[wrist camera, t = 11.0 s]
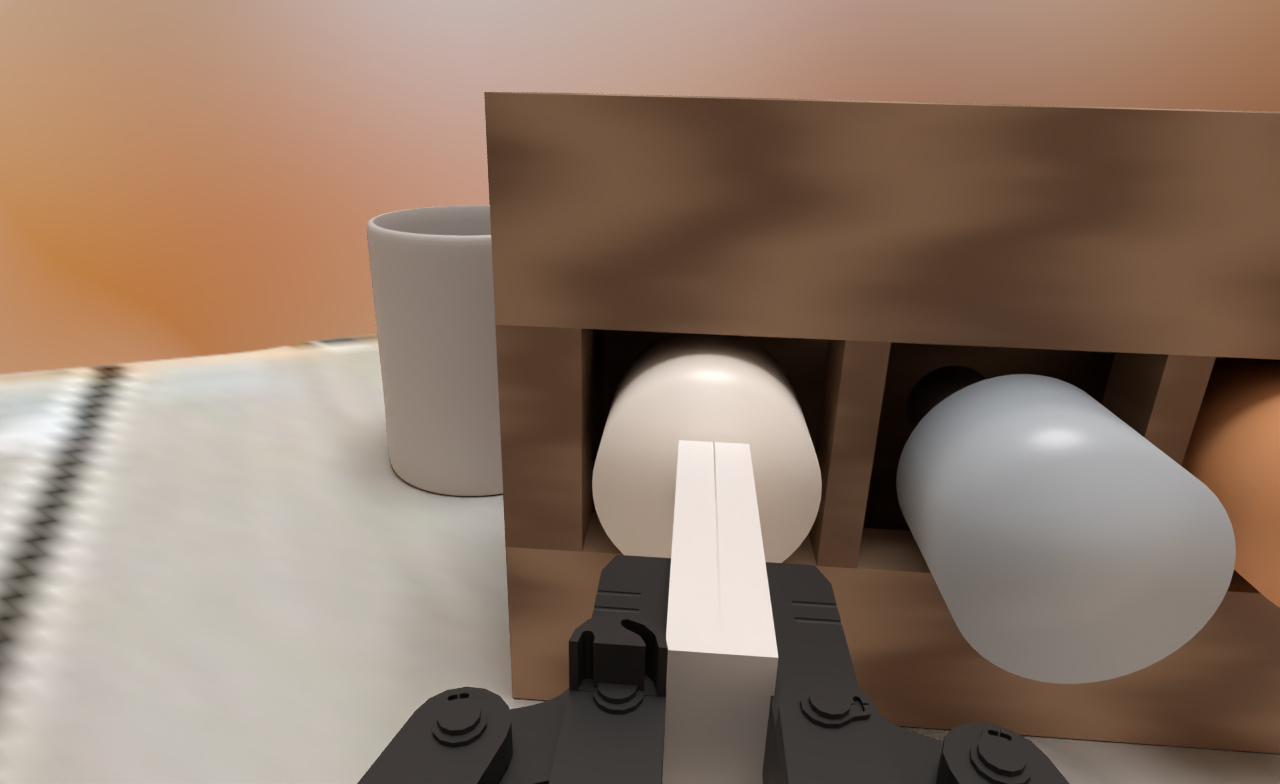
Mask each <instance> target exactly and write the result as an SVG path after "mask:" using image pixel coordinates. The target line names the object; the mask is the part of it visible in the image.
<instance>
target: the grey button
mask: <svg viewBox="0 0 1280 784" xmlns="http://www.w3.org/2000/svg"><path fill="white" fill-rule="evenodd" d="M907 416H908V419H909V422H910V424H911V426H912V427H913V429H914V430H913V432H912V433H911V435H910V437H909V438H908V440H907V442H906V444H905V446H904V449H903V451H902V454H901V456H900V460H899V464H898V468H897V478H896V487H897V496H898V501H899V505H900V508H901V511H902V513H903V516H904V518H905V520H906V522H907V524H908V526H909V528H910V530H911V532H912V534H913V536H914V539H915V541H916V543H917V545H918V547H919V549H920V551H921V553H922V555H923V557H924V559H925V561H926V563H927V565H928V567H929V569H930V572H931V574H932V576H933V578H934V580H935V582H936V584H937V586H938V588H939V590H940V592H941V594H942V596H943V598H944V600H945V602H946V605H947V607H948V609H949V611H950V613H951V615H952V617H953V619H954V621H955V623H956V625H957V627H958V628H959V630H960V632H961V633H962V635H963V637H964V638H965V639H966V640H967V642H968V643H969V644H970V645H971V646H972V648H974V649H975V650H976V651H977V652H978V653H979V654H980V655H981V656H982V657H984V658H985V659H987V660H988V661H990V662H991V663H993V664H994V665H996V666H998V667H1000V668H1002V669H1004V670H1006V671H1008V672H1010V673H1013V674H1015V675H1018V676H1021V677H1024V678H1028V679H1032V680H1036V681H1041V682H1049V683H1057V684H1079V683H1092V682H1098V681H1104V680H1109V679H1113V678H1117V677H1120V676H1124V675H1128V674H1130V673H1133V672H1136V671H1138V670H1141V669H1144V668H1146V667H1148V666H1150V665H1152V664H1154V663H1156V662H1158V661H1160V660H1162V659H1163V658H1165V657H1167V656H1168V655H1170V654H1171V653H1173V652H1175V651H1176V650H1178V649H1179V648H1180V647H1181V646H1183V645H1184V644H1185V643H1187V642H1188V641H1189V640H1190V639H1192V638H1193V637H1194V636H1195V635H1196V634H1197V633H1198V632H1199V631H1200V630H1201V629H1202V628H1203V627H1204V626H1205V624H1206V623H1207V622H1208V621H1209V619H1210V618H1211V617H1212V616H1213V615H1214V613H1215V612H1216V610H1217V608H1218V607H1219V605H1220V604H1221V602H1222V600H1223V599H1224V596H1225V594H1226V592H1227V590H1228V587H1229V585H1230V582H1231V578H1232V575H1233V571H1234V566H1235V557H1236V547H1235V536H1234V532H1233V528H1232V524H1231V521H1230V519H1229V517H1228V514H1227V512H1226V510H1225V508H1224V507H1223V505H1222V504H1221V502H1220V501H1219V499H1218V498H1217V496H1216V495H1215V494H1214V493H1213V492H1212V491H1211V490H1210V489H1209V488H1208V487H1207V486H1206V485H1205V484H1204V483H1203V482H1201V481H1200V480H1199V479H1197V478H1196V477H1195V476H1193V475H1192V474H1191V473H1190V472H1188V471H1187V470H1186V469H1184V468H1183V467H1182V466H1180V465H1179V464H1178V463H1177V462H1175V461H1174V460H1173V459H1171V458H1170V457H1169V456H1168V455H1166V454H1165V453H1164V452H1162V451H1161V450H1160V449H1158V448H1157V447H1156V446H1155V445H1153V444H1152V443H1151V442H1149V441H1148V440H1147V439H1146V438H1144V437H1143V436H1142V435H1140V434H1139V433H1138V432H1136V431H1135V430H1134V429H1133V428H1131V427H1130V426H1129V425H1127V424H1126V423H1125V422H1123V421H1122V420H1121V419H1120V418H1118V417H1117V416H1116V415H1114V414H1113V413H1112V412H1111V411H1109V410H1108V409H1107V408H1105V407H1104V406H1103V405H1101V404H1100V403H1099V402H1098V401H1096V400H1095V399H1094V398H1092V397H1091V396H1090V395H1088V394H1087V393H1086V392H1085V391H1083V390H1081V389H1079V388H1078V387H1076V386H1074V385H1072V384H1070V383H1067V382H1065V381H1062V380H1059V379H1056V378H1051V377H1047V376H1041V375H1032V374H1013V375H1005V376H998V377H994V378H990V379H986V378H985V377H984V376H983V375H982V374H981V373H979V372H978V371H976V370H974V369H972V368H969V367H966V366H960V365H950V366H944V367H940V368H938V369H935V370H933V371H931V372H929V373H928V374H926V375H925V376H923V377H922V378H921V379H920V380H919V381H918V382H917V383H916V384H915V386H914V387H913V389H912V391H911V392H910V395H909V397H908V401H907Z"/></svg>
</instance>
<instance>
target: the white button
mask: <svg viewBox="0 0 1280 784" xmlns="http://www.w3.org/2000/svg"><path fill="white" fill-rule="evenodd" d="M679 440H684V441H702V442H721V443H740V444H749V446H750V453H751V460H752V468H753V475H754V482H755V490H756V497H757V504H758V512H759V519H760V526H761V534H762V541H763V548H764V556H765V562H772V563H782V562H783V561H784V560H786V559H787V558H788V557H789V556H791V555H792V553H793V552H794V551H795V550H796V549H797V548H798V547H799V546H800V545H801V543H802V542H803V541H804V539H805V538H806V537H807V535H808V533H809V531H810V530H811V528H812V526H813V524H814V522H815V519H816V516H817V513H818V510H819V505H820V501H821V490H822V481H821V471H820V467H819V463H818V459H817V456H816V452H815V449H814V446H813V443H812V440H811V437H810V434H809V431H808V428H807V425H806V422H805V419H804V416H803V412H802V409H801V406H800V403H799V400H798V397H797V394H796V391H795V388H794V386H793V383H792V381H791V379H790V377H789V375H788V374H787V372H786V370H785V369H784V367H783V366H782V365H781V364H780V362H779V361H778V360H777V359H776V358H775V357H774V356H773V355H772V354H771V353H770V352H769V351H768V350H766V349H765V348H764V347H762V346H761V345H759V344H758V343H756V342H754V341H752V340H750V339H749V338H747V337H744V336H738V335H715V334H692V333H675V334H671V335H669V336H667V337H664V338H662V339H660V340H658V341H656V342H655V343H653V344H651V345H650V346H648V347H647V348H646V349H644V350H643V351H642V352H641V353H639V354H638V355H637V356H636V357H635V358H634V359H633V360H632V362H631V363H630V364H629V366H628V367H627V368H626V370H625V371H624V373H623V375H622V376H621V378H620V380H619V382H618V385H617V387H616V390H615V393H614V396H613V400H612V404H611V407H610V411H609V414H608V418H607V421H606V425H605V428H604V432H603V435H602V439H601V442H600V446H599V450H598V453H597V457H596V461H595V465H594V469H593V479H592V491H593V500H594V504H595V509H596V512H597V515H598V518H599V520H600V523H601V525H602V527H603V528H604V530H605V532H606V534H607V535H608V537H609V538H610V540H611V541H612V542H613V544H614V545H615V546H616V547H617V548H618V549H619V550H620V551H621V552H622V553H623V555H629V556H644V557H660V558H671V553H672V538H673V523H674V507H675V492H676V477H677V462H678V447H679Z"/></svg>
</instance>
